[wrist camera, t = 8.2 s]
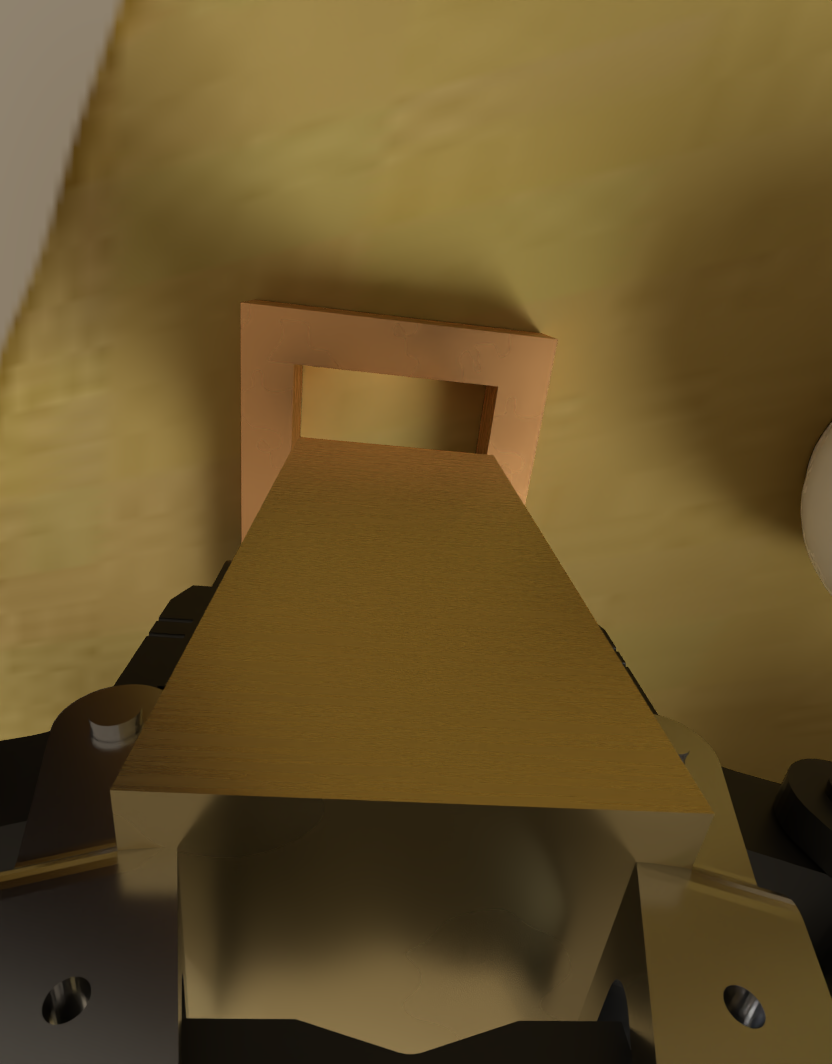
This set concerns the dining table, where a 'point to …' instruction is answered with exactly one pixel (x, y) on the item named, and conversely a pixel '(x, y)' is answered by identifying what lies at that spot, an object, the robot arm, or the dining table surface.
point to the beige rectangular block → (401, 762)
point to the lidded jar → (819, 508)
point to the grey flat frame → (386, 348)
